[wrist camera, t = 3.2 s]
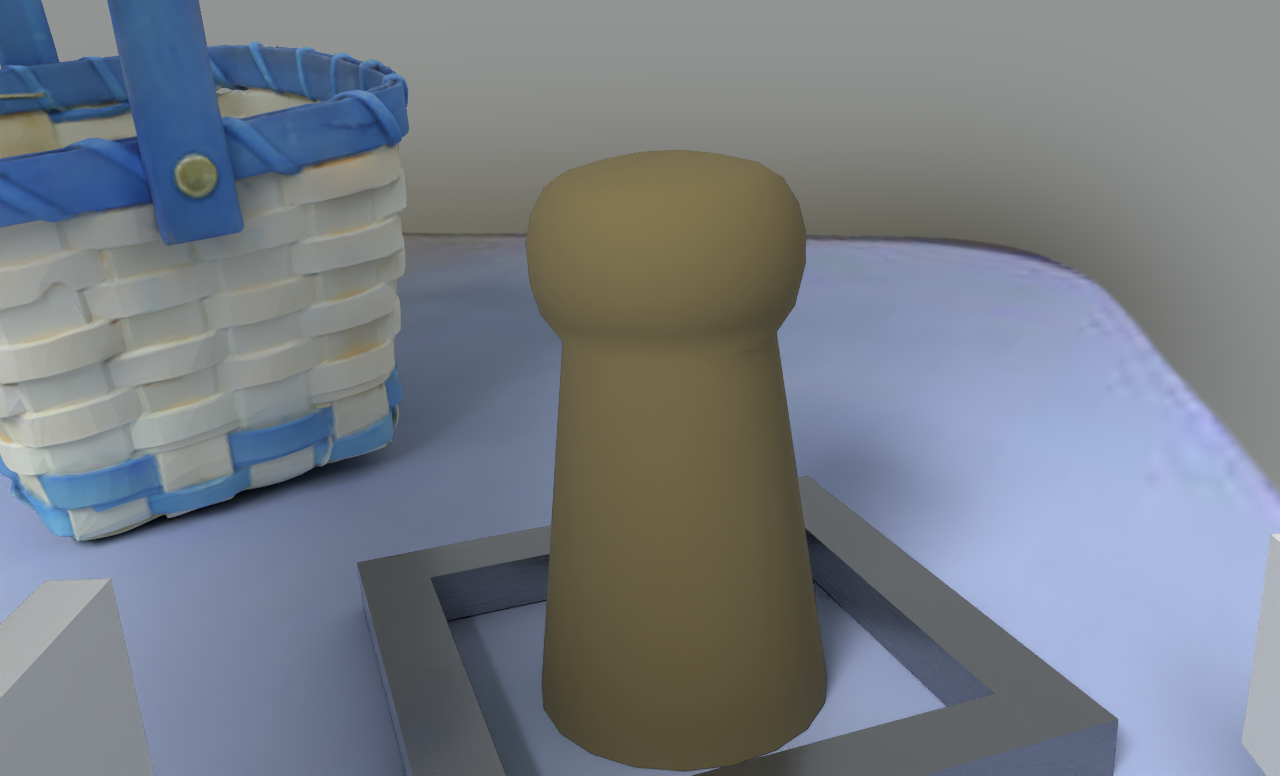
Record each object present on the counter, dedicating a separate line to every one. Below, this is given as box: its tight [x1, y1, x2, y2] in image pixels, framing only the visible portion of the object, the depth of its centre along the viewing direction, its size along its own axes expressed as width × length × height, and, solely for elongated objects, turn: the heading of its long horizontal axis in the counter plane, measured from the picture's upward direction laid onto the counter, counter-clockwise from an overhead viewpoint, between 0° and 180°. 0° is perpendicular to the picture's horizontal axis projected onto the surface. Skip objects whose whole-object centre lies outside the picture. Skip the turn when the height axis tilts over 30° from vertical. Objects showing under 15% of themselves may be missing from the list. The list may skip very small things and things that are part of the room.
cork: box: [526, 150, 827, 771], centre depth 23 cm, size 6×6×11 cm
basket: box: [0, 0, 409, 541], centre depth 35 cm, size 21×16×24 cm
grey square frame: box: [357, 476, 1118, 776], centre depth 24 cm, size 12×12×1 cm
